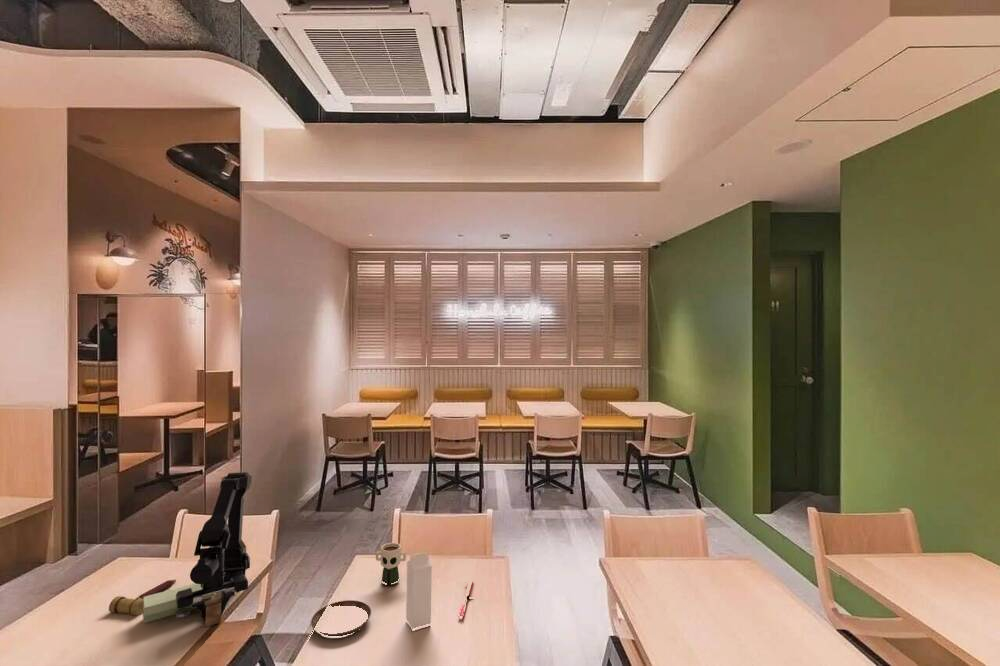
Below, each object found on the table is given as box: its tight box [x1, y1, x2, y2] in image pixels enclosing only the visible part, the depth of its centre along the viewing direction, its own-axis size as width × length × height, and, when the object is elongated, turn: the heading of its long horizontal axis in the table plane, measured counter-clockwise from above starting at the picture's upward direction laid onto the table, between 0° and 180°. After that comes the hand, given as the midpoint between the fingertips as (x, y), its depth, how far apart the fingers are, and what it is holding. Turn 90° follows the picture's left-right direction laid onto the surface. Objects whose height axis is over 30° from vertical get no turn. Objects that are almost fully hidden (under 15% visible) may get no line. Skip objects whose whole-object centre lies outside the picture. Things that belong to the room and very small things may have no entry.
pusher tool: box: [203, 596, 222, 628], centre depth 152 cm, size 4×14×6 cm, turn 38°
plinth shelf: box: [142, 583, 215, 624], centre depth 152 cm, size 18×8×7 cm, turn 128°
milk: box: [405, 551, 433, 629], centre depth 149 cm, size 6×6×22 cm
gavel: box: [108, 578, 177, 617], centre depth 162 cm, size 21×5×10 cm
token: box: [175, 608, 192, 621], centre depth 152 cm, size 4×4×2 cm
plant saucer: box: [310, 599, 372, 636], centre depth 149 cm, size 18×18×3 cm
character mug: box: [375, 542, 407, 584], centre depth 174 cm, size 11×7×13 cm, turn 90°
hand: (212, 618), depth 148 cm, fingers closed on pusher tool, 4 cm apart
